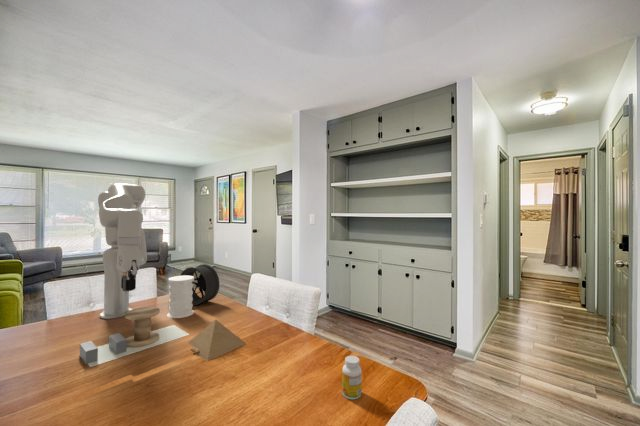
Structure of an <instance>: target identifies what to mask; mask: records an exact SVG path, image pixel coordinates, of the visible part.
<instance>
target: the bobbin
mask: <svg viewBox="0 0 640 426" xmlns="http://www.w3.org/2000/svg"><path fill="white" fill-rule="evenodd" d="M160 311H161V310H160V307H155V306H154V307H153V306H147V307H146V306H145V307H138V308H135V309H132V310H131V311H128V312H127V313H126V314H125V316H124V319H126V320H129V321H132V320H133V322H134V324H133V335H130V336H128V337H127V347H132V348H134V347H142V346H146V345H150V344H152V343H154V342H156V341H157V340H158V339H159V334H158V333H156V332H151V327H152V325H151V324H152V323H151V322H152V320H151V318H153V317H155V316H156V317H157V315H159V314H160V313H161V312H160Z"/></svg>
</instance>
